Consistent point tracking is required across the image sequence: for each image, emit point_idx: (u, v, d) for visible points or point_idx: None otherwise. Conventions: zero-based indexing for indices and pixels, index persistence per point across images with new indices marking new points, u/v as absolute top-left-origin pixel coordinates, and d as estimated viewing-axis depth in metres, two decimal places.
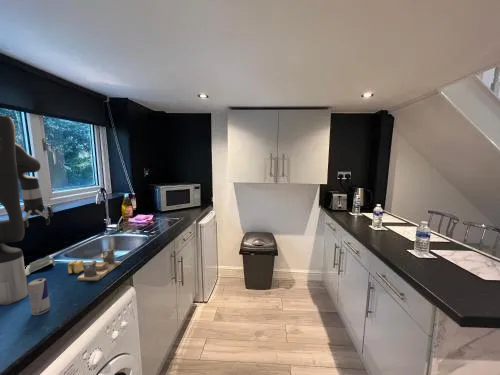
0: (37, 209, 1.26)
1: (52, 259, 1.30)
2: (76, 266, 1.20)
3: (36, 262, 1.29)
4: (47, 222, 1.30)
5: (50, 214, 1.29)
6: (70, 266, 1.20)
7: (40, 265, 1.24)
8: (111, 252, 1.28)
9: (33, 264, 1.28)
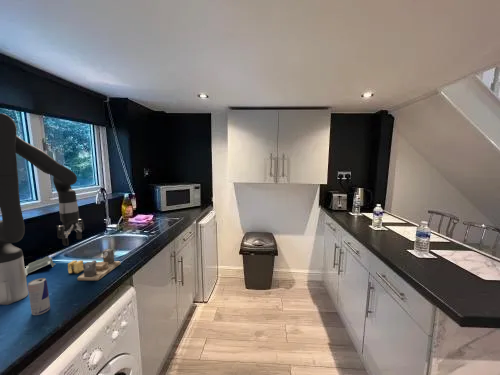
0: None
1: (51, 260, 1.29)
2: (76, 266, 1.20)
3: (35, 263, 1.28)
4: None
5: None
6: (70, 266, 1.20)
7: (38, 266, 1.23)
8: (111, 252, 1.28)
9: (32, 264, 1.27)
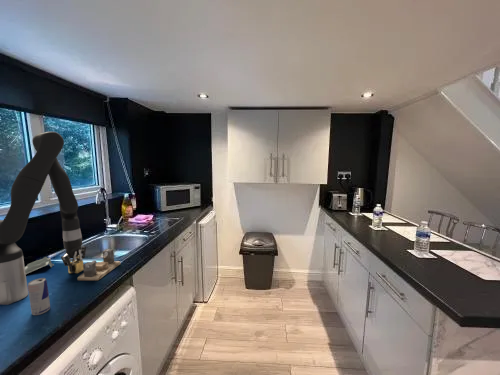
0: None
1: (49, 260, 1.29)
2: (76, 266, 1.20)
3: (34, 263, 1.27)
4: None
5: None
6: None
7: (36, 266, 1.23)
8: (111, 252, 1.28)
9: (31, 265, 1.27)
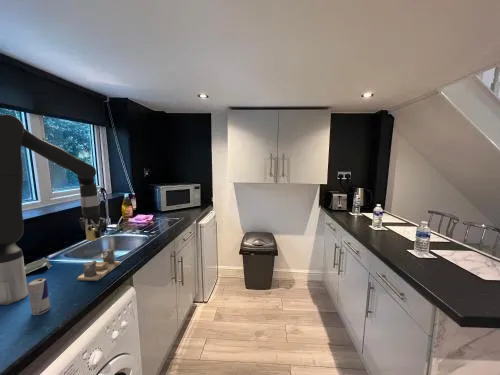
0: (92, 218, 1.18)
1: (47, 261, 1.27)
2: None
3: (32, 264, 1.27)
4: (97, 235, 1.20)
5: (99, 227, 1.18)
6: (95, 233, 1.19)
7: (33, 267, 1.22)
8: (111, 252, 1.28)
9: (29, 266, 1.26)
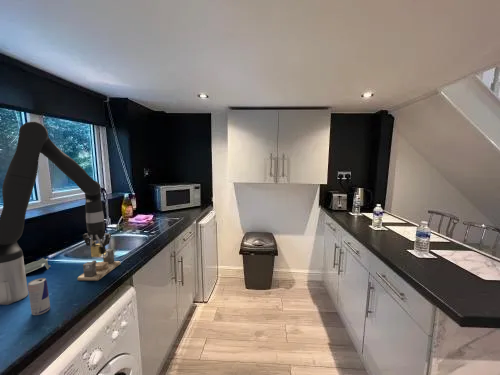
0: (98, 234, 1.18)
1: (46, 262, 1.27)
2: None
3: (31, 264, 1.26)
4: (102, 251, 1.20)
5: (105, 243, 1.19)
6: None
7: (32, 268, 1.21)
8: (111, 252, 1.28)
9: (28, 266, 1.26)
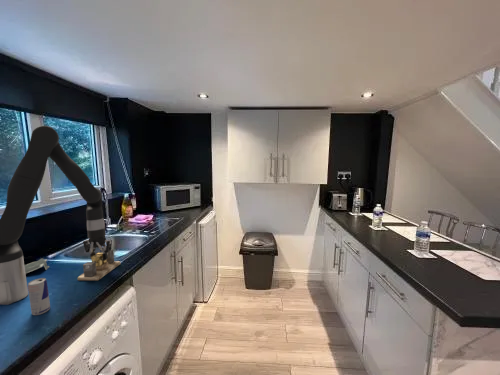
0: (98, 241, 1.19)
1: (44, 262, 1.26)
2: None
3: (30, 265, 1.26)
4: (104, 258, 1.20)
5: (107, 249, 1.19)
6: (100, 258, 1.20)
7: (30, 268, 1.20)
8: (111, 252, 1.28)
9: (27, 266, 1.25)
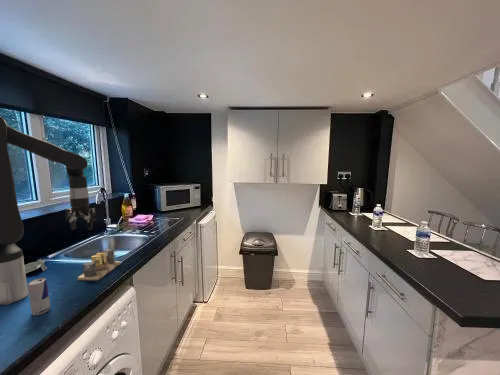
0: (81, 211, 1.16)
1: (42, 263, 1.25)
2: (105, 255, 1.23)
3: (28, 265, 1.25)
4: (89, 227, 1.17)
5: (91, 218, 1.16)
6: (100, 258, 1.20)
7: (27, 269, 1.19)
8: (111, 252, 1.28)
9: (25, 267, 1.25)
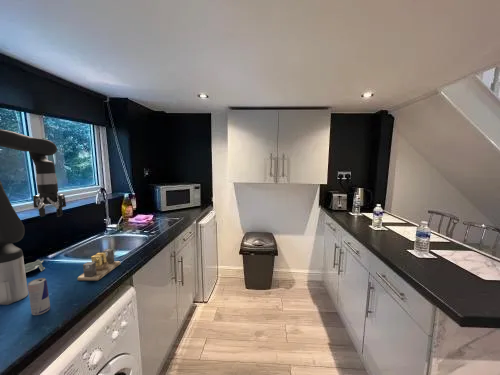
0: (49, 197, 1.13)
1: (40, 264, 1.24)
2: (105, 255, 1.23)
3: (26, 266, 1.25)
4: (58, 213, 1.14)
5: (60, 204, 1.13)
6: (100, 258, 1.20)
7: (25, 270, 1.19)
8: (111, 252, 1.28)
9: None
